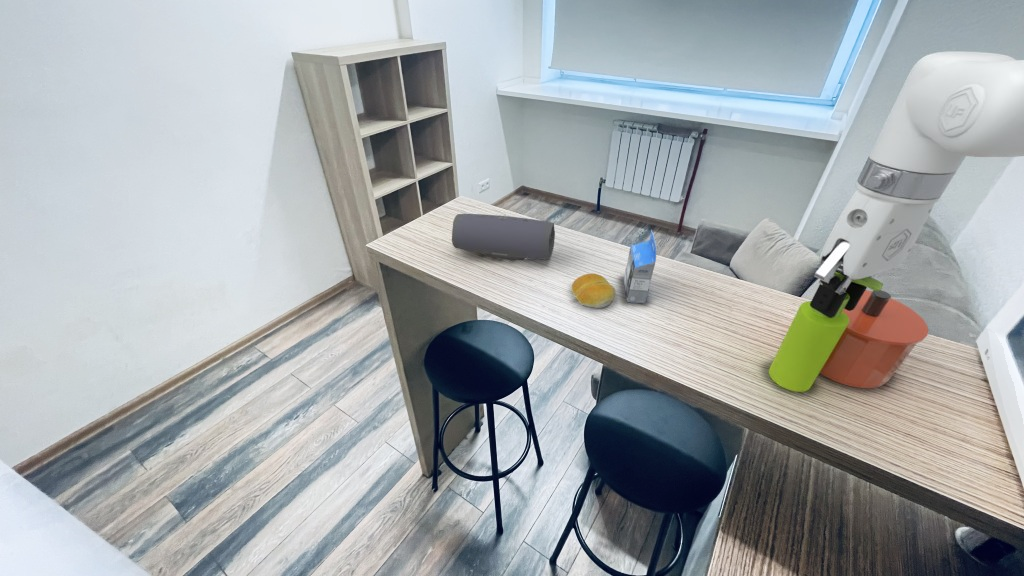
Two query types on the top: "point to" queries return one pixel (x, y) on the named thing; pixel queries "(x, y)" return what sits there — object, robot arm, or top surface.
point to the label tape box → (640, 270)
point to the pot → (863, 361)
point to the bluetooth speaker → (503, 236)
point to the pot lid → (885, 320)
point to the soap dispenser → (811, 342)
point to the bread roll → (593, 291)
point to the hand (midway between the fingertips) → (831, 307)
